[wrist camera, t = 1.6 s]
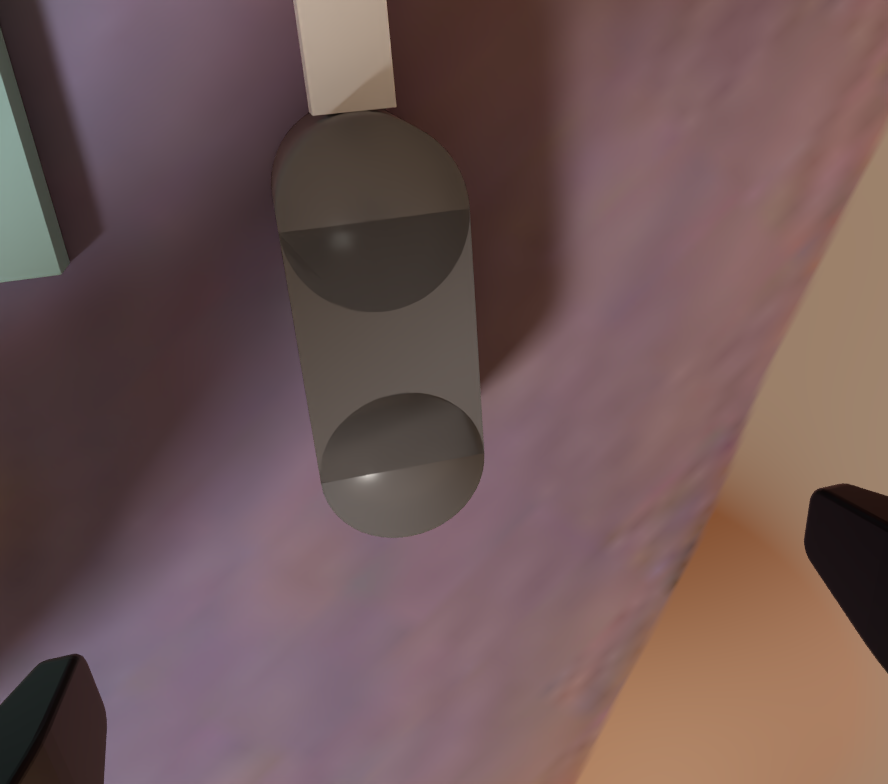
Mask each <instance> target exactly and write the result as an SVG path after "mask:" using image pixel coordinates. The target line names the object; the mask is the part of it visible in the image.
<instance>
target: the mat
mask: <svg viewBox="0 0 888 784" xmlns="http://www.w3.org/2000/svg"><path fill="white" fill-rule="evenodd" d="M69 264H70V262H69V258H68V255H67V251H66V248H65V245H64V241H63V238H62V234H61V231H60V228H59V224H58V221H57V218H56V214H55V211H54V207H53V204H52V201H51V197H50V194H49V190H48V187H47V184H46V180H45V177H44V174H43V170H42V167H41V163H40V160H39V157H38V153H37V150H36V146H35V143H34V140H33V136H32V133H31V130H30V126H29V123H28V119H27V116H26V113H25V109H24V106H23V102H22V99H21V96H20V92H19V89H18V86H17V82H16V79H15V75H14V72H13V69H12V65H11V62H10V58H9V55H8V52H7V48H6V45H5V42H4V38H3V35H2V31H1V28H0V283H1V282H9V281H16V280H24V279H32V278H39V277H47V276H55V275H61V274H62V273H63V272H64V270H65V269H66V268H67V266H68V265H69Z"/></svg>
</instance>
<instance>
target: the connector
mask: <svg viewBox="0 0 888 784" xmlns="http://www.w3.org/2000/svg"><path fill="white" fill-rule="evenodd" d="M293 3H294V10H295V17H296V24H297V31H298V38H299V45H300V52H301V59H302V66H303V73H304V80H305V87H306V94H307V101H308V108H309V112H310V113H309V114H307V115H306V116H304V117H303V118H301V119H300V120H299V121H298V122H297V123H296V124H295V125H294V126H293V127H292V128H291V129H290V130H289V132H288V133H287V134H286V136H285V137H284V139H283V140H282V142H281V144H280V146H279V148H278V150H277V152H276V155H275V159H274V162H273V167H272V173H271V190H272V198H273V204H274V210H275V216H276V221H277V227H278V233H279V239H280V245H281V251H282V257H283V263H284V268H285V274H286V280H287V286H288V292H289V298H290V304H291V310H292V315H293V321H294V327H295V333H296V339H297V345H298V351H299V357H300V362H301V368H302V374H303V380H304V386H305V392H306V398H307V404H308V410H309V415H310V421H311V427H312V433H313V439H314V445H315V451H316V456H317V462H318V468H319V474H320V480H321V485H322V489H323V493H324V495H325V498H326V500H327V502H328V504H329V505H330V507H331V508H332V510H333V511H334V512H335V513H336V515H337V516H338V517H339V518H341V519H342V520H343V521H344V522H345V523H347V524H348V525H350V526H351V527H353V528H355V529H357V530H359V531H361V532H364V533H367V534H370V535H374V536H379V537H388V538H398V537H408V536H413V535H417V534H421V533H424V532H427V531H429V530H432V529H434V528H436V527H438V526H440V525H442V524H443V523H445V522H446V521H448V520H449V519H451V518H452V517H453V516H454V515H456V514H457V513H458V512H459V511H460V510H461V509H462V508H463V507H464V506H465V505H466V503H467V502H468V501H469V500H470V498H471V497H472V495H473V493H474V492H475V490H476V488H477V486H478V484H479V482H480V479H481V475H482V472H483V466H484V443H483V426H482V409H481V392H480V375H479V358H478V341H477V324H476V307H475V290H474V273H473V256H472V239H471V222H470V207H469V199H468V193H467V189H466V186H465V182H464V180H463V177H462V175H461V172H460V171H459V169H458V167H457V165H456V163H455V162H454V160H453V159H452V158H451V156H450V155H449V154H448V152H447V151H446V150H445V149H444V148H443V147H442V146H441V145H440V144H439V143H438V142H437V141H436V140H435V139H433V138H432V137H431V136H429V135H428V134H427V133H425V132H423V131H421V130H420V129H418V128H416V127H414V126H413V125H411V124H409V123H407V122H405V121H404V120H402V119H400V118H398V117H396V116H395V115H393V114H391V113H389V112H387V111H386V110H384V108H393V107H396V96H395V86H394V75H393V65H392V54H391V44H390V33H389V22H388V12H387V1H386V0H293Z"/></svg>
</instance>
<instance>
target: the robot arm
mask: <svg viewBox="0 0 888 784" xmlns="http://www.w3.org/2000/svg"><path fill="white" fill-rule="evenodd" d="M804 545H805V550H806V553H807V556H808V558H809V560H810V561H811V563H812V564H813V566H814V568H815V569H816V571H817V572H818V574H819V575H820V576H821V578H822V579H823V581H824V583H825V584H826V586H827V587H828V589H829V590H830V591H831V593H832V594H833V596H834V598H835V599H836V600H837V602H838V603H839V605H840V607H841V608H842V610H843V611H844V612H845V614H846V616H847V617H848V618H849V620H850V622H851V623H852V624H853V626H854V627H855V629H856V630H857V632H858V633H859V635H860V636H861V638H862V639H863V641H864V642H865V644H866V645H867V647H868V648H869V649H870V651H871V652H872V654H873V655H874V656H875V658H876V659H877V660H878V662H879V663H880V664H881V666H882V667H883V668H884V669H885V671H886V672H887V673H888V496H885V495H882V494H879V493H876V492H872V491H869V490H866V489H863V488H860V487H857V486H854V485H850V484H837V485H832V486H828V487H823V488H819V489H817V490H816V491H814V493H813V494H812V496H811V498H810V504H809V510H808V517H807V523H806V530H805V538H804ZM106 733H107V718H106V711H105V707H104V704H103V701H102V699H101V696H100V694H99V691H98V689H97V686H96V684H95V681H94V679H93V676H92V674H91V671H90V669H89V666H88V664H87V662H86V660H85V659H84V657H83V656H81V655H79V654H71V655H67V656H62V657H57V658H53V659H48V660H45V661H43V662H41V663H39V664H38V665H37V666H36V667H35V668H34V669H33V670H32V671H31V672H30V673H29V674H28V675H27V677H26V678H25V679H24V680H23V681H22V682H21V683H20V684H19V685H18V686H17V687H16V688H15V690H14V691H13V692H12V693H11V694H10V695H9V696H8V697H7V698H6V699H5V700H4V701H3V702H2V704H1V705H0V784H104V769H105V751H106Z"/></svg>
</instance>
